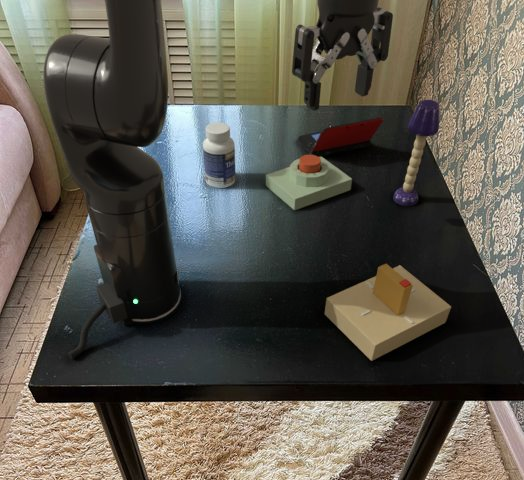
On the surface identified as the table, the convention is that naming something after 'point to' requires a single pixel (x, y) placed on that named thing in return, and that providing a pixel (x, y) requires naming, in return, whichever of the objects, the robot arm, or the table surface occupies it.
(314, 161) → the bell button
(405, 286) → the lock knob
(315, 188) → the pale green button base
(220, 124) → the pill bottle
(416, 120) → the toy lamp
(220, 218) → the table surface
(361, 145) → the handheld game console
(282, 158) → the table surface
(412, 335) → the plate
